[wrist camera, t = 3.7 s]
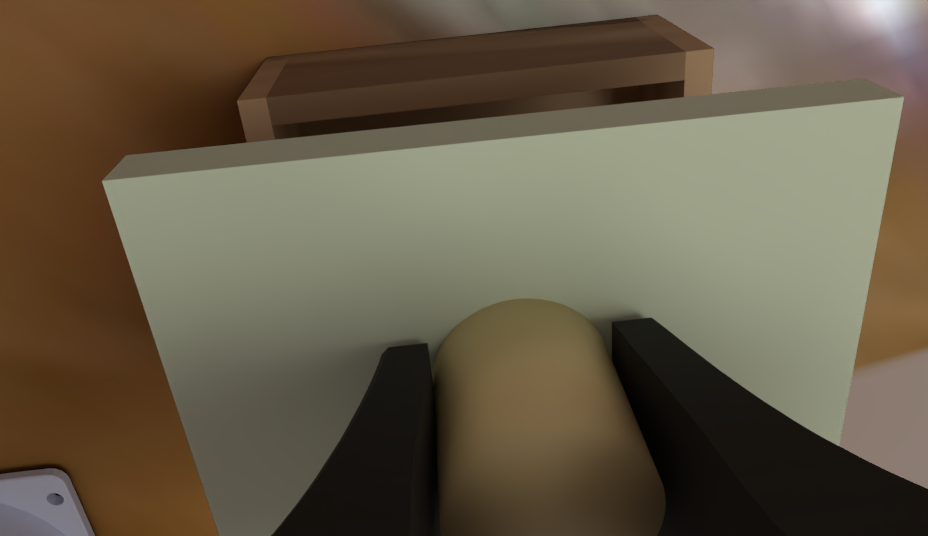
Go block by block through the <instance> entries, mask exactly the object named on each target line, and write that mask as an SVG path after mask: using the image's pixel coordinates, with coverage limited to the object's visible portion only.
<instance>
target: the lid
mask: <svg viewBox="0 0 928 536" xmlns="http://www.w3.org/2000/svg"><path fill="white" fill-rule="evenodd" d="M903 100H904V97H903V96H901V95H899V94H897V93H895V92H893V91H891V90H889V89H887V88H884V87H882V86H880V85H878V84H876V83H874V82H872V81H870V80H868V79H866V78H863V79H854V80H844V81H835V82H825V83H815V84H806V85H796V86H787V87H777V88H768V89H758V90H748V91H739V92H729V93H720V94H710V95H700V96H691V97H681V98H672V99H662V100H652V101H643V102H633V103H624V104H614V105H604V106H595V107H585V108H576V109H566V110H556V111H547V112H537V113H528V114H518V115H508V116H499V117H489V118H480V119H470V120H460V121H451V122H441V123H432V124H422V125H412V126H403V127H393V128H384V129H374V130H364V131H355V132H345V133H336V134H326V135H316V136H307V137H297V138H288V139H278V140H268V141H259V142H249V143H240V144H230V145H220V146H211V147H201V148H192V149H182V150H172V151H163V152H153V153H144V154H134V155H126V156H125V157H124V158H123V159H122V160H121V161H120V162H119V163H118V164H117V165H116V166H115V168H114V169H113V170H112V171H111V172H110V173H109V174H108V175H107V176H106V177H105V178H104V179H103V180H102V183H103V186H104V189H105V192H106V195H107V198H108V201H109V204H110V207H111V210H112V213H113V216H114V219H115V222H116V225H117V228H118V231H119V234H120V237H121V240H122V243H123V246H124V249H125V252H126V256H127V259H128V262H129V265H130V268H131V271H132V274H133V277H134V280H135V283H136V286H137V289H138V292H139V295H140V298H141V301H142V304H143V307H144V310H145V313H146V316H147V319H148V322H149V325H150V328H151V331H152V334H153V337H154V340H155V343H156V346H157V349H158V352H159V355H160V358H161V361H162V364H163V367H164V370H165V373H166V376H167V379H168V382H169V385H170V389H171V392H172V395H173V398H174V401H175V404H176V407H177V410H178V413H179V416H180V419H181V422H182V425H183V428H184V431H185V434H186V437H187V440H188V443H189V446H190V449H191V452H192V455H193V458H194V461H195V464H196V467H197V470H198V473H199V476H200V479H201V482H202V485H203V488H204V491H205V494H206V497H207V500H208V503H209V506H210V509H211V512H212V515H213V518H214V521H215V525H216V528H217V531H218V534H219V536H271V535H272V534H273V533H274V531H275V530H276V529H277V528H278V527H279V526H280V524H281V523H282V522H283V521H284V519H285V518H286V517H287V516H288V514H289V513H290V512H291V510H292V509H293V508H294V507H295V505H296V504H297V503H298V501H299V500H300V499H301V497H302V496H303V495H304V493H305V492H306V491H307V489H308V488H309V486H310V485H311V484H312V482H313V481H314V479H315V478H316V476H317V475H318V473H319V472H320V470H321V469H322V467H323V466H324V464H325V463H326V461H327V459H328V458H329V456H330V455H331V453H332V452H333V450H334V449H335V447H336V445H337V444H338V442H339V441H340V439H341V437H342V436H343V434H344V432H345V430H346V429H347V427H348V425H349V423H350V421H351V419H352V418H353V416H354V414H355V412H356V410H357V408H358V407H359V405H360V403H361V401H362V399H363V397H364V395H365V393H366V391H367V389H368V387H369V385H370V382H371V380H372V378H373V376H374V373H375V371H376V368H377V366H378V364H379V361H380V358H381V355H382V354H383V352H384V351H385V350H386V349H387V348H388V347H396V346H405V345H413V344H422V343H428V349H429V356H430V364H431V372H432V379H433V388H434V406H435V423H436V453H437V473H438V493H439V513H440V532H441V536H657V535H658V533H659V531H660V529H661V526H662V523H663V519H664V515H665V508H666V500H665V492H664V487H663V484H662V481H661V479H660V476H659V474H658V471H657V469H656V467H655V464H654V462H653V459H652V457H651V454H650V452H649V449H648V447H647V445H646V442H645V440H644V437H643V435H642V432H641V430H640V427H639V425H638V423H637V420H636V418H635V415H634V413H633V410H632V408H631V405H630V403H629V401H628V398H627V396H626V393H625V391H624V388H623V386H622V384H621V381H620V379H619V376H618V374H617V371H616V369H615V366H614V364H613V362H612V322H615V321H624V320H633V319H642V318H653V319H654V320H656V321H657V322H658V323H660V324H661V325H662V326H663V327H665V328H666V329H667V330H668V331H670V332H671V333H672V334H674V335H675V336H676V337H677V338H679V339H680V340H681V341H682V342H684V343H685V344H686V345H687V346H689V347H690V348H691V349H693V350H694V351H695V352H697V353H698V354H699V355H700V356H702V357H703V358H704V359H706V360H707V361H708V362H710V363H711V364H712V365H714V366H715V367H716V368H717V369H719V370H720V371H722V372H723V373H724V374H726V375H727V376H728V377H730V378H731V379H732V380H734V381H735V382H737V383H738V384H740V385H741V386H742V387H744V388H745V389H747V390H748V391H750V392H751V393H752V394H754V395H755V396H757V397H758V398H760V399H761V400H763V401H764V402H766V403H767V404H769V405H770V406H772V407H774V408H775V409H777V410H778V411H780V412H781V413H783V414H785V415H786V416H788V417H789V418H791V419H792V420H794V421H796V422H797V423H799V424H800V425H802V426H804V427H805V428H807V429H809V430H811V431H812V432H814V433H816V434H817V435H819V436H821V437H823V438H825V439H827V440H828V441H830V442H832V443H834V444H836V445H838V446H839V443H840V438H841V432H842V427H843V421H844V416H845V411H846V405H847V400H848V394H849V389H850V384H851V379H852V373H853V368H854V363H855V357H856V352H857V347H858V341H859V336H860V330H861V325H862V320H863V314H864V309H865V304H866V298H867V293H868V288H869V282H870V277H871V272H872V266H873V261H874V255H875V250H876V245H877V239H878V234H879V229H880V223H881V218H882V213H883V207H884V202H885V197H886V191H887V186H888V181H889V175H890V170H891V164H892V159H893V154H894V148H895V143H896V138H897V132H898V127H899V122H900V116H901V111H902V106H903Z"/></svg>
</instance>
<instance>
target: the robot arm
mask: <svg viewBox="0 0 928 536" xmlns="http://www.w3.org/2000/svg"><path fill="white" fill-rule="evenodd" d="M612 362H613V364H614V366H615V369H616V371H617V374H618V376H619V379H620V381H621V384H622V386H623V388H624V391H625V393H626V396H627V398H628V401H629V403H630V405H631V408H632V410H633V413H634V415H635V418H636V420H637V423H638V425H639V427H640V430H641V432H642V435H643V437H644V440H645V442H646V445H647V447H648V449H649V452H650V454H651V457H652V459H653V462H654V464H655V467H656V469H657V471H658V474H659V476H660V479H661V481H662V484H663V487H664V492H665V500H666V508H665V515H664V519H663V523H662V526H661V529H660V531H659V533H658V535H657V536H928V489H926V488H924V487H922V486H920V485H917V484H915V483H913V482H910V481H908V480H906V479H904V478H901V477H899V476H897V475H895V474H893V473H890V472H888V471H886V470H884V469H882V468H880V467H878V466H876V465H874V464H872V463H870V462H868V461H866V460H864V459H862V458H860V457H858V456H856V455H854V454H853V453H851V452H849V451H847V450H845V449H843V448H841V447H839V446H838V445H836V444H834V443H832V442H830V441H828V440H827V439H825V438H823V437H821V436H819V435H817V434H816V433H814V432H812V431H811V430H809V429H807V428H805V427H804V426H802V425H800V424H799V423H797V422H796V421H794V420H792V419H791V418H789V417H788V416H786V415H785V414H783V413H781V412H780V411H778V410H777V409H775V408H774V407H772V406H770V405H769V404H767V403H766V402H764V401H763V400H761V399H760V398H758V397H757V396H755V395H754V394H752V393H751V392H750V391H748V390H747V389H745V388H744V387H742V386H741V385H740V384H738V383H737V382H735V381H734V380H732V379H731V378H730V377H728V376H727V375H726V374H724V373H723V372H722V371H720V370H719V369H717V368H716V367H715V366H714V365H712V364H711V363H710V362H708V361H707V360H706V359H704V358H703V357H702V356H700V355H699V354H698V353H697V352H695V351H694V350H693V349H691V348H690V347H689V346H687V345H686V344H685V343H684V342H682V341H681V340H680V339H679V338H677V337H676V336H675V335H674V334H672V333H671V332H670V331H668V330H667V329H666V328H665V327H663V326H662V325H661V324H660V323H658V322H657V321H656V320H654V319H653V318H642V319H633V320H624V321H615V322H612ZM53 493H57V494H59V495H61V496H57V495H55V494H53ZM0 536H95V534H94V532H93V530H92V528H91V525H90V523H89V521H88V519H87V516H86V514H85V512H84V510H83V507H82V505H81V503H80V501H79V498H78V496H77V494H76V491H75V489H74V487H73V485H72V482H71V480H70V478H69V477H68V475H67V474H66V473H64V472H63V471H62V470H59V469H55V468H47V469H39V470H30V471H22V472H14V473H5V474H0ZM271 536H441V532H440V513H439V493H438V473H437V453H436V423H435V406H434V388H433V379H432V372H431V364H430V356H429V349H428V343H422V344H413V345H405V346H396V347H388V348H387V349H386V350H385V351H384V352H383V354H382V355H381V358H380V361H379V364H378V366H377V368H376V371H375V373H374V376H373V378H372V380H371V382H370V385H369V387H368V389H367V391H366V393H365V395H364V397H363V399H362V401H361V403H360V405H359V407H358V408H357V410H356V412H355V414H354V416H353V418H352V419H351V421H350V423H349V425H348V427H347V429H346V430H345V432H344V434H343V436H342V437H341V439H340V441H339V442H338V444H337V445H336V447H335V449H334V450H333V452H332V453H331V455H330V456H329V458H328V459H327V461H326V463H325V464H324V466H323V467H322V469H321V470H320V472H319V473H318V475H317V476H316V478H315V479H314V481H313V482H312V484H311V485H310V486H309V488H308V489H307V491H306V492H305V493H304V495H303V496H302V497H301V499H300V500H299V501H298V503H297V504H296V505H295V507H294V508H293V509H292V510H291V512H290V513H289V514H288V516H287V517H286V518H285V519H284V521H283V522H282V523H281V524H280V526H279V527H278V528H277V529H276V530H275V531H274V533H273V534H272V535H271Z"/></svg>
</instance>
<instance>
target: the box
mask: <svg viewBox="0 0 928 536" xmlns="http://www.w3.org/2000/svg"><path fill="white" fill-rule="evenodd" d="M713 61H714V48H712V47H711V46H709V45H707V44H706V43H704V42H702V41H701V40H699V39H697V38H696V37H694V36H692V35H691V34H689V33H687V32H686V31H684V30H682V29H681V28H679V27H677V26H676V25H674V24H672V23H671V22H669V21H667V20H666V19H664V18H662V17H661V16H659V15H653V16H644V17H635V18H626V19H617V20H607V21H598V22H589V23H580V24H571V25H561V26H552V27H543V28H534V29H525V30H515V31H506V32H497V33H488V34H479V35H469V36H460V37H451V38H442V39H433V40H423V41H414V42H405V43H396V44H387V45H377V46H368V47H359V48H350V49H341V50H331V51H322V52H313V53H304V54H295V55H285V56H276V57H267V58H266V59H265V61H264V62H263V64H262V65H261V67H260V68H259V70H258V71H257V72H256V74H255V75H254V77H253V78H252V80H251V81H250V83H249V84H248V86H247V87H246V88H245V90H244V91H243V93H242V94H241V96H240V97H239V99H238V100H237V104H238V108H239V112H240V116H241V121H242V125H243V129H244V133H245V138H246V142H247V143H249V142H259V141H268V140H278V139H288V138H297V137H307V136H316V135H326V134H336V133H345V132H355V131H364V130H374V129H384V128H393V127H403V126H412V125H422V124H432V123H441V122H451V121H460V120H470V119H480V118H489V117H499V116H508V115H518V114H528V113H537V112H547V111H556V110H566V109H576V108H585V107H595V106H604V105H614V104H624V103H633V102H643V101H652V100H662V99H672V98H681V97H691V96H700V95H710V94H712V77H713Z"/></svg>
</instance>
